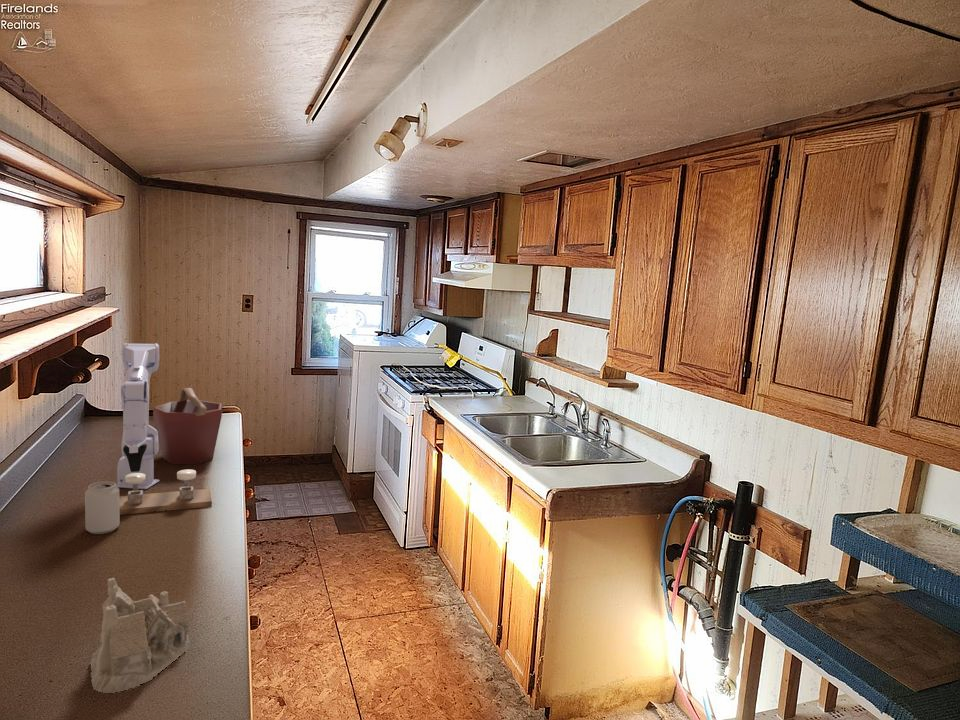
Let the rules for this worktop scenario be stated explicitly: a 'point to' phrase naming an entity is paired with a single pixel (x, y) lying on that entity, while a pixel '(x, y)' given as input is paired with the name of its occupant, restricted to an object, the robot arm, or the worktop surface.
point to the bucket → (187, 428)
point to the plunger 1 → (135, 479)
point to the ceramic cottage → (137, 639)
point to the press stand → (164, 500)
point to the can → (102, 507)
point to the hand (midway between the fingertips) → (135, 471)
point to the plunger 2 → (186, 476)
